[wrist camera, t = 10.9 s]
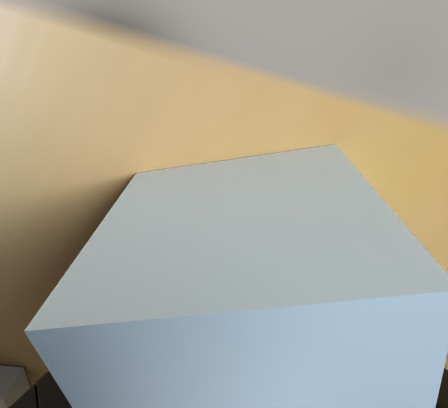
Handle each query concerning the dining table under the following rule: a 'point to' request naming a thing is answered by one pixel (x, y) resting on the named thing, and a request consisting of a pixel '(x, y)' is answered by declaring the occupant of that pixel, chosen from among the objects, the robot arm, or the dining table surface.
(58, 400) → the robot arm
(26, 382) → the baseplate
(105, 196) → the dining table surface
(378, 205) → the brick top
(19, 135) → the dining table surface
